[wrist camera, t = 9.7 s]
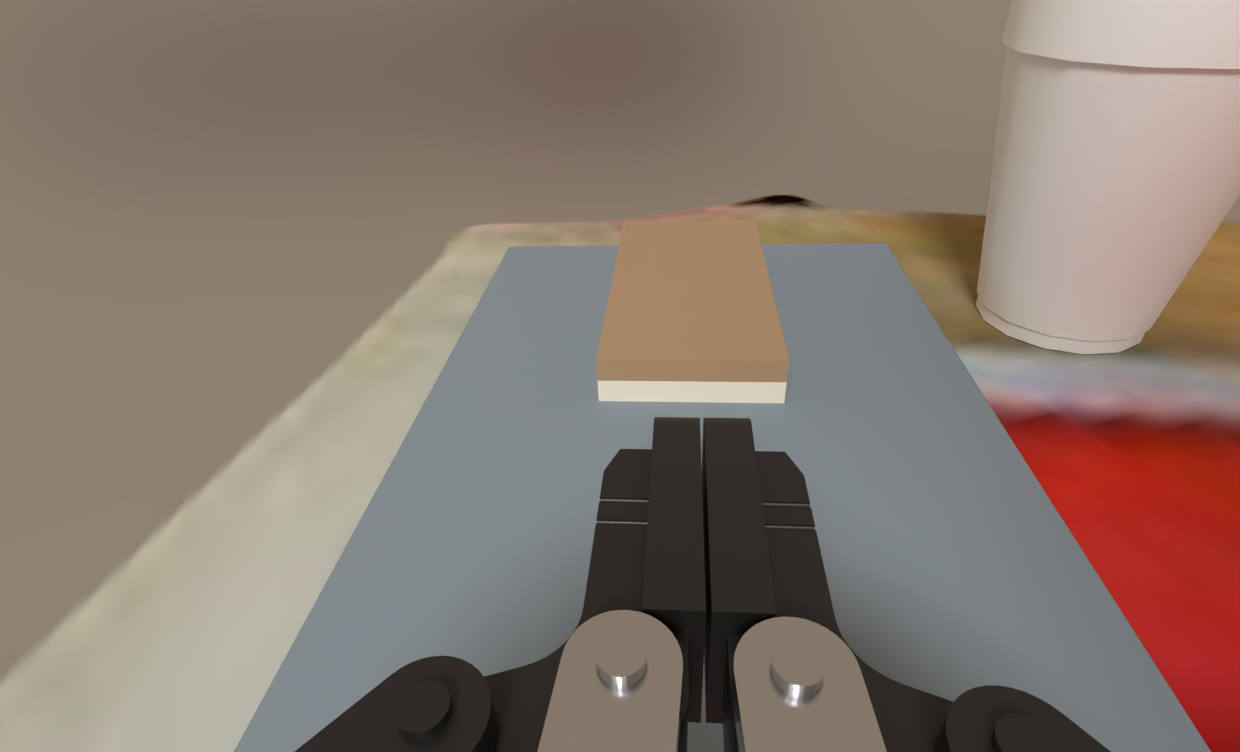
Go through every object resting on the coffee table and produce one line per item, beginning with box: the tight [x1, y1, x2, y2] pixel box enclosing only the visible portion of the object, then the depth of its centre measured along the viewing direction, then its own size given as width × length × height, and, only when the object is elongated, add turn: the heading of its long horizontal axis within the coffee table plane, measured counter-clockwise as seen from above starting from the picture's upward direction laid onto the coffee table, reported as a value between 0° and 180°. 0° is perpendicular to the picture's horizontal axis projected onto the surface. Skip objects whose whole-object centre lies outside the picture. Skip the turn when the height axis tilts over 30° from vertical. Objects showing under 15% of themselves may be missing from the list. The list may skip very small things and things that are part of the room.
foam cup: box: [976, 0, 1240, 354], centre depth 25 cm, size 10×9×13 cm
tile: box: [596, 220, 789, 403], centre depth 29 cm, size 2×7×13 cm
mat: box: [234, 243, 1211, 752], centre depth 24 cm, size 20×28×1 cm
